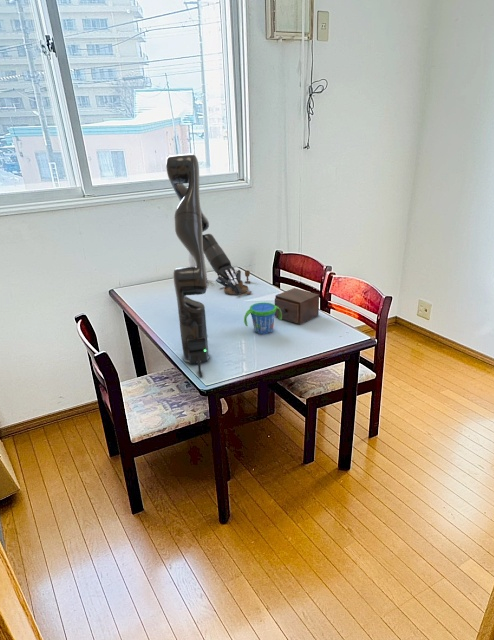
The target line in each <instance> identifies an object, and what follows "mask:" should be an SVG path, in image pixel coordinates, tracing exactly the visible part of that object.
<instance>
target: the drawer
mask: <svg viewBox="0 0 494 640" xmlns="http://www.w3.org/2000/svg"><path fill="white" fill-rule="evenodd" d="M274 305H275V306H277V307H278V308H280V310H281V312H282V318H283V319H282V320H284V319H286V320H285V321H287V320H289V321H288V322H290V321H292V322H291V323H293V322H295V323H294V324H296V323H299V304H297V303H294V302H290V301H287V300H283V299H279V298H274ZM278 317H279V309H276V312H275V318H278Z"/></svg>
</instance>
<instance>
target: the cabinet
mask: <svg viewBox="0 0 494 640" xmlns="http://www.w3.org/2000/svg"><path fill="white" fill-rule="evenodd" d="M274 296H275V298H279V299H283V300H287V301H290V302H294V303H297V304H299V323H295V322H292V321H289V320H286V319H283V318H282V319H281V320H284V321H287V322H290V323H294V324H297V325H303V324H305V323H307V322H309V321H311V320H313V319H315V318H317V317H319V309H320V307H319V306H320V294H319V293H315V292H312V291H308V290H304V289H299V288H296V287H294V288H291V289H288V290H285V291H283V292H280V293H278V294H276V295H274ZM275 298H274V299H275ZM277 319H279V317H277Z"/></svg>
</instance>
